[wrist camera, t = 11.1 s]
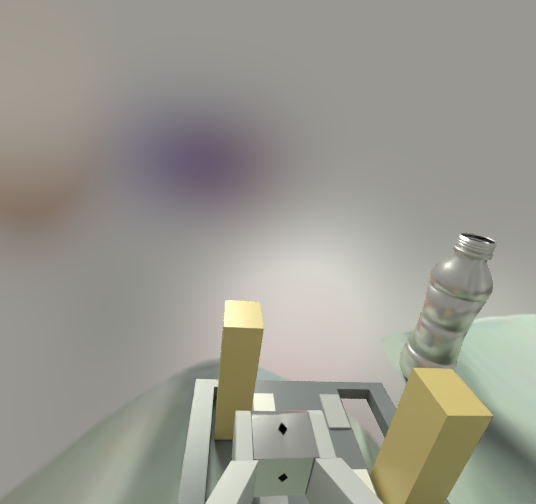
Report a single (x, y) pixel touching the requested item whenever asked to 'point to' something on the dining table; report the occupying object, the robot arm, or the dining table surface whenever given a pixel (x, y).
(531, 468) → the dining table surface
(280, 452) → the robot arm
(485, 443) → the dining table surface
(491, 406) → the dining table surface
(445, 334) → the plastic bottle
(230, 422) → the yellow bar
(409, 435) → the yellow rectangular block
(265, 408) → the switch bank
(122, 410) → the dining table surface
